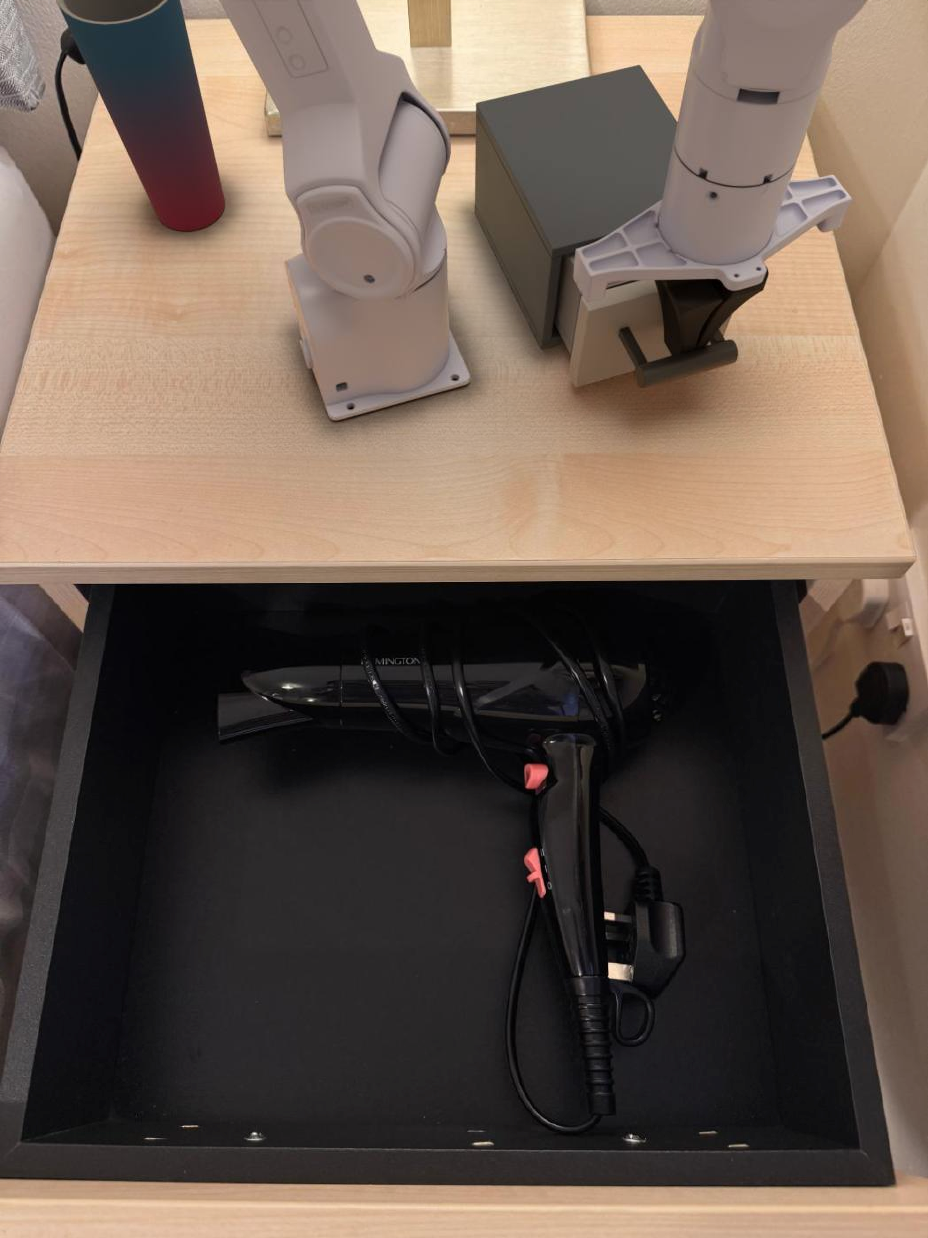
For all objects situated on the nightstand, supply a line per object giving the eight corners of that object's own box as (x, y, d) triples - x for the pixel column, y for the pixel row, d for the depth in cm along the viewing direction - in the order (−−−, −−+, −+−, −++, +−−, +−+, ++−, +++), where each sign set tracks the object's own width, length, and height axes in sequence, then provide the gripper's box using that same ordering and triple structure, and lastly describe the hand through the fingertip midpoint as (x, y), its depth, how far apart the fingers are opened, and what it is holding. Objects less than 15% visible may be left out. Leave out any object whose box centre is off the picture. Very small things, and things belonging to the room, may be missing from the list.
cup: (220, 246, 62) (151, 30, 48) (129, 232, 63) (35, 15, 49) (249, 180, 65) (191, -43, 51) (161, 167, 65) (81, -57, 52)
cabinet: (697, 306, 60) (731, 202, 52) (541, 349, 58) (552, 249, 51) (619, 175, 65) (640, 63, 57) (474, 211, 64) (475, 101, 56)
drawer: (749, 395, 56) (783, 319, 50) (600, 439, 54) (617, 366, 48) (643, 216, 62) (662, 129, 56) (507, 251, 61) (512, 166, 55)
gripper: (626, 245, 38) (595, 434, 51) (922, 159, 40) (822, 363, 52) (565, 143, 41) (550, 345, 54) (843, 66, 43) (767, 280, 55)
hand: (681, 348), depth 53 cm, fingers closed, pressing on drawer
